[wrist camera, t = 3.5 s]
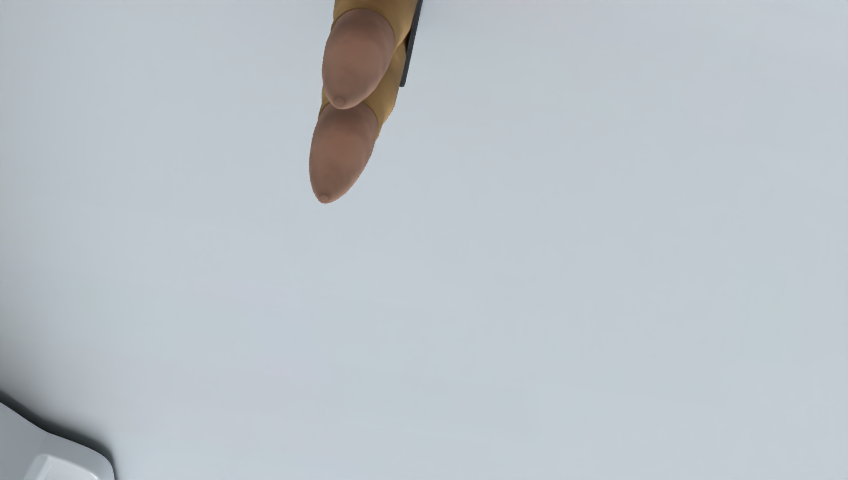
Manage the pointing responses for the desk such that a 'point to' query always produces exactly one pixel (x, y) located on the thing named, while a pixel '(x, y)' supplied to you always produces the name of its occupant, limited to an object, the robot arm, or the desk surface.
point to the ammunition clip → (359, 87)
